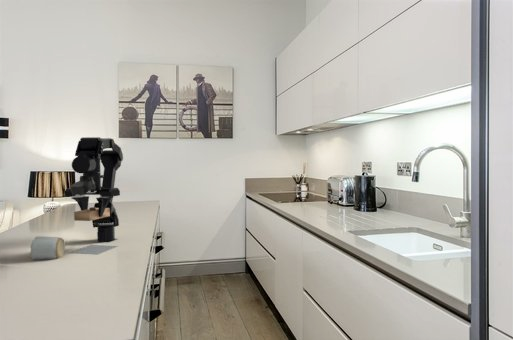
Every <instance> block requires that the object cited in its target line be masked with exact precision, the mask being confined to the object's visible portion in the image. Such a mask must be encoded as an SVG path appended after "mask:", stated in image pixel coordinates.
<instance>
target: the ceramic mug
mask: <svg viewBox="0 0 513 340" xmlns="http://www.w3.org/2000/svg"><path fill="white" fill-rule="evenodd" d="M65 245H66V244H65V240H64V239H63V237H60V236H59V237H57V236H35V237H34V238H33V240H32V242H31V245H30V258H31V259H32V260H33V261H39V260H40V261H42V260H54V259H55V260H57V259H60V258H62V257H63V255H64V254H65V249H66V246H65Z"/></svg>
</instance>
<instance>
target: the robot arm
mask: <svg viewBox="0 0 513 340" xmlns="http://www.w3.org/2000/svg"><path fill="white" fill-rule="evenodd" d="M110 149H111V150H110ZM74 156H75V158H73V159H72V162H71V168H72V170H73V171H74V172H75V173H77V174H82V175H80V177H79V181H76V182H74V183H73V184H71V185H69V188H66V189H65V190H64V197H66V198H69V197H71V200H74V201H75V202H76V203H77V204H78V207H79V209H80V211H81V210H86V209H89V202H90V201H89V199H90V196H91V195H92V196H93V195H94V196H95V195H96V196H99V197H96V198H95V199H96V201H97V202H95V203H94V206H93V207H96V208H99V217H102V215H103V213H104V211H105V209H106V208H110V216H108V217H104V218H100V219H96V220H91V222H92V227H93V228H97V233H96V235H97V237H96V238H97V240H95V241H94V242H95V243H111V242H114V241H117V240H118V238H116V236H115V233H116V232H115V227H119V226H120V221H119V217H118V214H117V211H116V208H115V206H114V203H113V200H114V197H119V196H120V195H121V191H120V189H119V188H118V187H115V185H116V184H115V182H116V175H117V174H116V173H117V171H118V169H120V167H121V166H122V161H123V160H124V154H123V152H122V148H121V147H120V146H119V145H118V144H117V143H116V142H115V141H114V139H113V138H111V137H110V138H109V137H108V138H107V137H105V138H101V137H98V136H97V137H94V136H93V137H89V136H88V137H87V136H86V137H81V138H80V139H79V140H78V142H77V147H76V150H75V152H74ZM101 164H102V166H103V174H101V173H102V172H101Z"/></svg>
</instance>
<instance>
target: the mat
mask: <svg viewBox="0 0 513 340" xmlns="http://www.w3.org/2000/svg"><path fill="white" fill-rule="evenodd" d="M117 247H119V245H102V244H89V245H86V246H82V247H81V248H80V247H79V248H78V249H74V250H72V251H69V252H67V254H76V255H77V254H78V255H79V254H80V255H100V254H103V253H105V252H108V251H109V250H112V249H116V248H117Z"/></svg>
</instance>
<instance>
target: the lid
mask: <svg viewBox="0 0 513 340" xmlns="http://www.w3.org/2000/svg"><path fill="white" fill-rule="evenodd" d="M73 216H74V219H73V220H74V221H75V222H76V221H77V222H78V221H79V222H80V221H81V222H92V220H96V219H100V218H104V217H108V216H110V208H106V209H105V211H104V213H103V215H102V217H99V208H96V207H94V206H93V207H92V206H91V207H88V209H86V210H81V209H80V210H77V211H74V212H73Z"/></svg>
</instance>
